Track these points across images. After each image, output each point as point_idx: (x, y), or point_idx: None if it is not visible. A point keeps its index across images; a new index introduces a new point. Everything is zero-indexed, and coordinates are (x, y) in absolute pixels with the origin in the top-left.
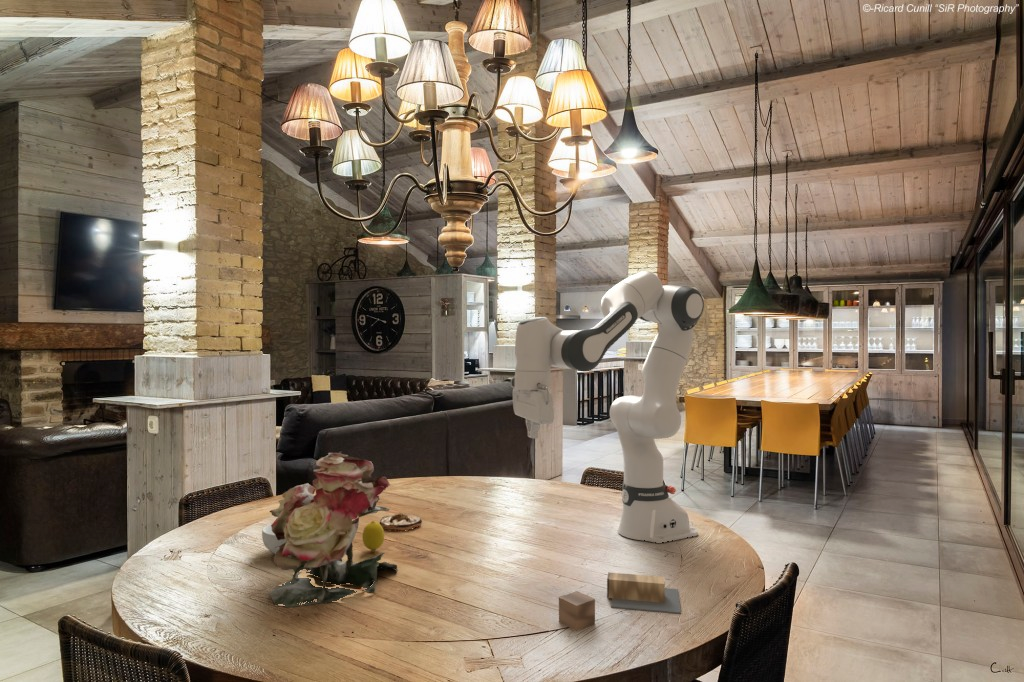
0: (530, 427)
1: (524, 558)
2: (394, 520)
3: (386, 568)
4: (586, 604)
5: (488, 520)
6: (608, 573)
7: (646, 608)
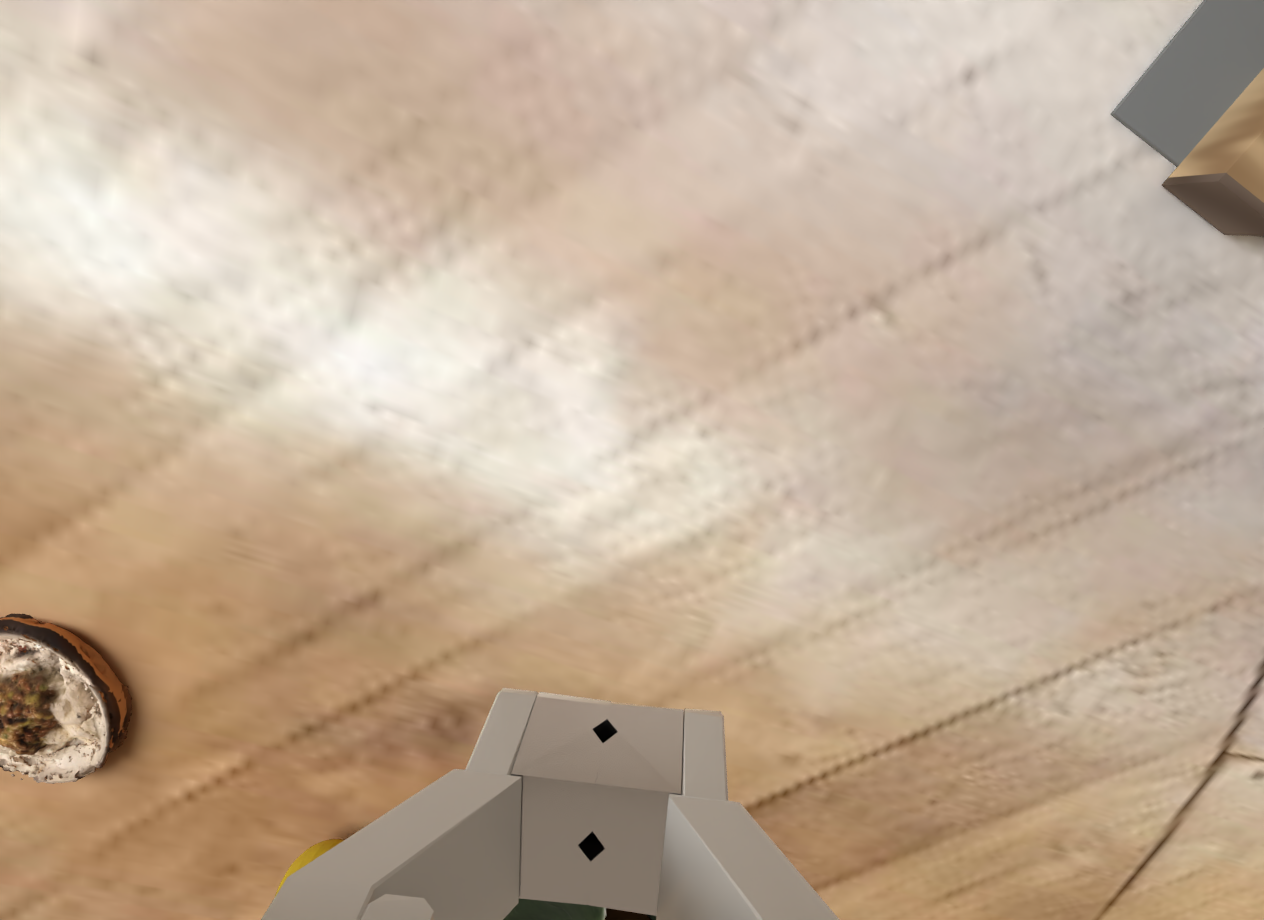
0: (473, 895)
1: (614, 364)
2: (51, 742)
3: None
4: None
5: (12, 309)
6: (1232, 188)
7: None
